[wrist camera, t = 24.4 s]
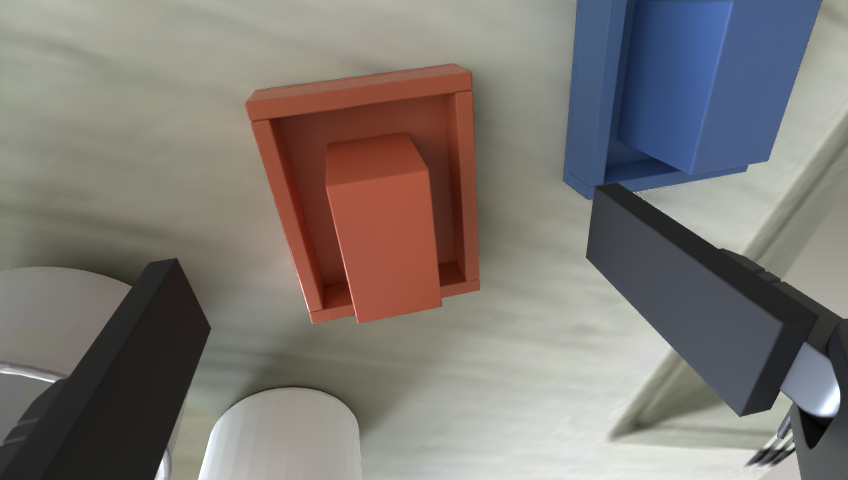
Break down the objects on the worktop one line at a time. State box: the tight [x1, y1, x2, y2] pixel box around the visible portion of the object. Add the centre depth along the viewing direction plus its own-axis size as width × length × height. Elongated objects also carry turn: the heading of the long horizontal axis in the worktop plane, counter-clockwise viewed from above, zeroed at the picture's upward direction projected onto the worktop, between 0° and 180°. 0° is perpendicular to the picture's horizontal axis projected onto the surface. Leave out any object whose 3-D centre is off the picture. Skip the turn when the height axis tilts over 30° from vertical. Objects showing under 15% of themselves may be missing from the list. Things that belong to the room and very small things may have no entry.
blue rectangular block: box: [617, 0, 822, 175], centre depth 17 cm, size 6×4×5 cm, turn 6°
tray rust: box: [245, 64, 480, 323], centre depth 19 cm, size 10×8×2 cm
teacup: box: [0, 267, 188, 480], centre depth 18 cm, size 14×11×8 cm
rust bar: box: [326, 132, 442, 323], centre depth 18 cm, size 6×4×5 cm, turn 6°
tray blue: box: [563, 0, 748, 200], centre depth 19 cm, size 10×8×2 cm
